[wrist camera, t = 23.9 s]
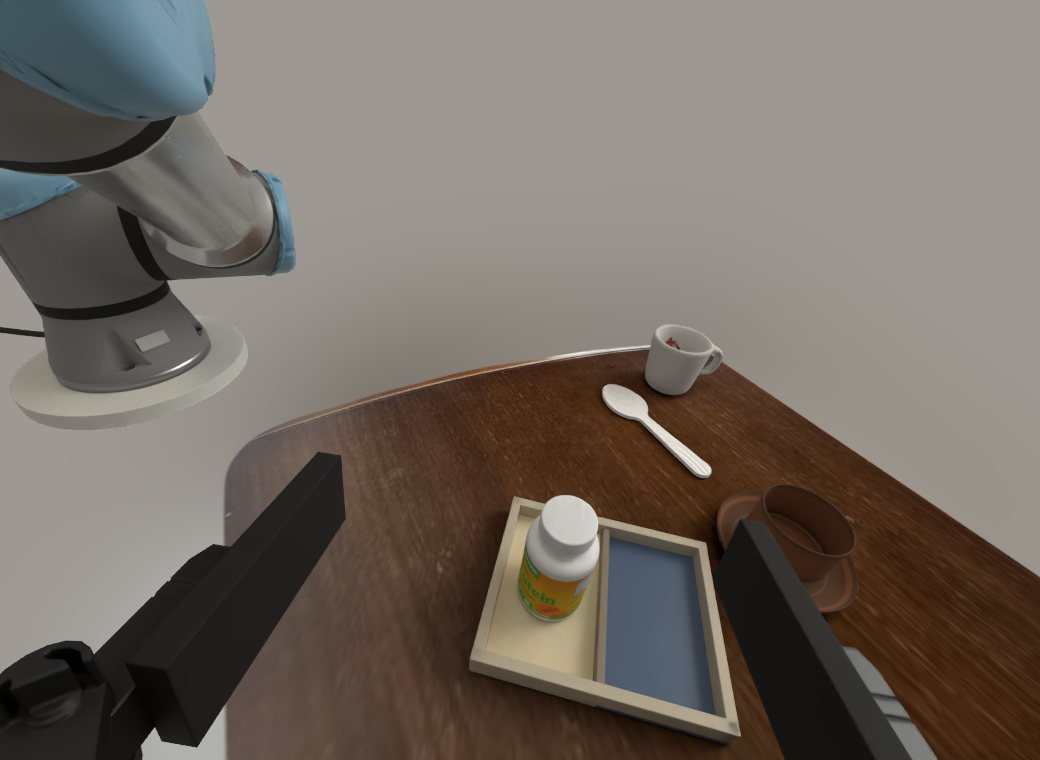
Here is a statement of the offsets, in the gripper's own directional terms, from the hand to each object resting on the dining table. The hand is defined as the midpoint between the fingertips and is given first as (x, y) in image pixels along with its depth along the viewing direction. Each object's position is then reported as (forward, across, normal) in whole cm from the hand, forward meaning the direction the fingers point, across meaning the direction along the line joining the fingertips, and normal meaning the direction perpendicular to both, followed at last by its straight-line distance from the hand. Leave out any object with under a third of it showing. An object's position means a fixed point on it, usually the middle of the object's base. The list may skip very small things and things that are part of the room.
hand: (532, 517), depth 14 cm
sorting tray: (+13, +8, -20) cm, 25 cm away
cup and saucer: (+20, +25, -19) cm, 37 cm away
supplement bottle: (+13, +3, -20) cm, 24 cm away
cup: (+46, +21, -14) cm, 52 cm away
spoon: (+36, +16, -16) cm, 42 cm away
